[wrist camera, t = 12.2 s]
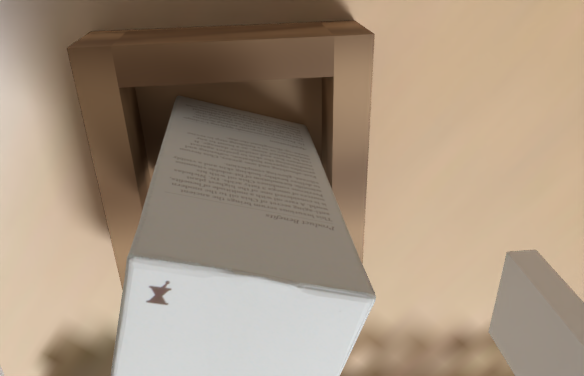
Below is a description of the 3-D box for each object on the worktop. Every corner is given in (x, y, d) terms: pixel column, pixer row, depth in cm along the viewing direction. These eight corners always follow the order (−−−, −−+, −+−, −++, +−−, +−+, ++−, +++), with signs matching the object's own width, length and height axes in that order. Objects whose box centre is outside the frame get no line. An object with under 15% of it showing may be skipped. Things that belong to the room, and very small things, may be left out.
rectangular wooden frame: (90, 31, 20) (66, 48, 17) (354, 20, 21) (374, 34, 18) (136, 253, 25) (123, 295, 22) (347, 236, 26) (362, 274, 23)
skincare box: (160, 179, 23) (99, 391, 12) (176, 91, 21) (121, 251, 10) (285, 204, 24) (328, 414, 14) (311, 124, 22) (383, 294, 12)
